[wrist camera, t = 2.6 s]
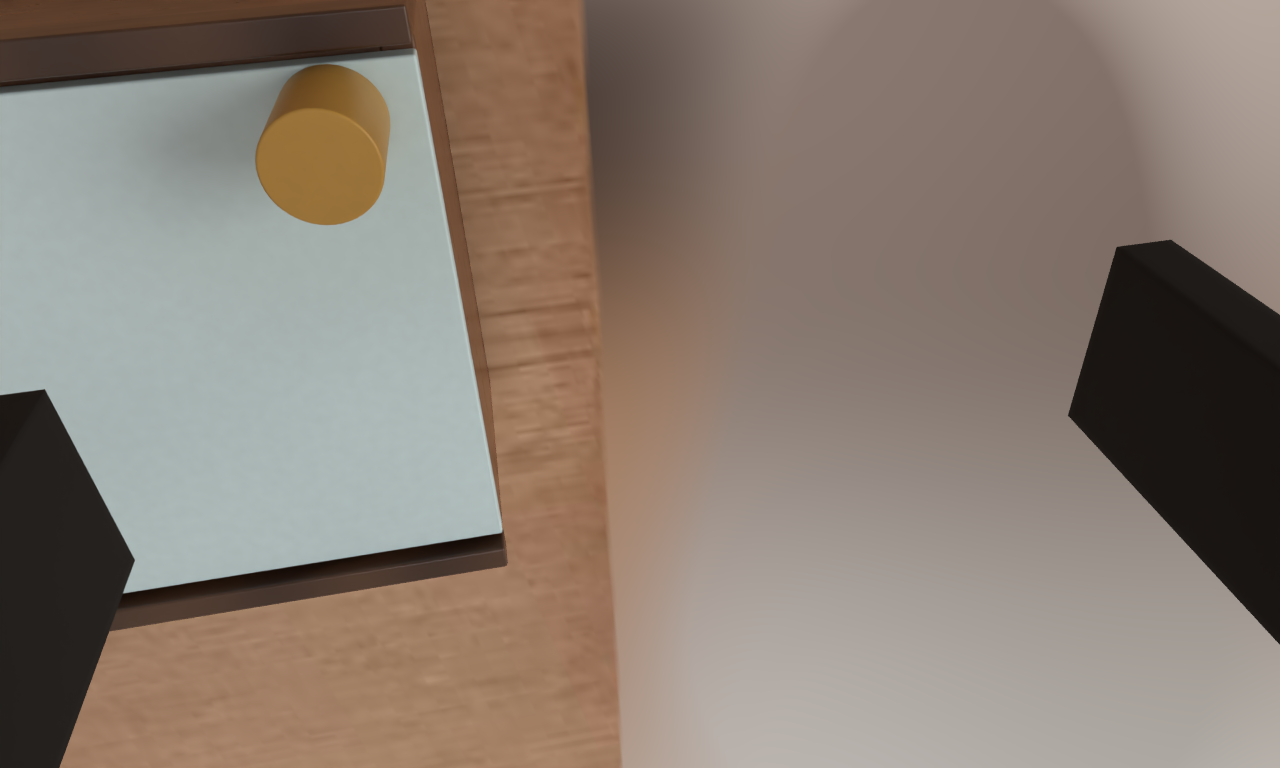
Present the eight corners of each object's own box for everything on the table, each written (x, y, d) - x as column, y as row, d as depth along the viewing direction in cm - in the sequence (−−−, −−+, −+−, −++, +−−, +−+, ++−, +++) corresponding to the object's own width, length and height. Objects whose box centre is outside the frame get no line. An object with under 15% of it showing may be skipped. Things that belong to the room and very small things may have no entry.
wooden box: (413, -69, 26) (405, 4, 19) (493, 399, 36) (508, 567, 28) (-79, -30, 25) (-295, 66, 17) (143, 449, 34) (65, 640, 27)
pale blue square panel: (416, 47, 20) (413, 97, 17) (501, 520, 29) (509, 608, 26) (-230, 107, 19) (-352, 175, 16) (60, 590, 27) (15, 692, 24)
